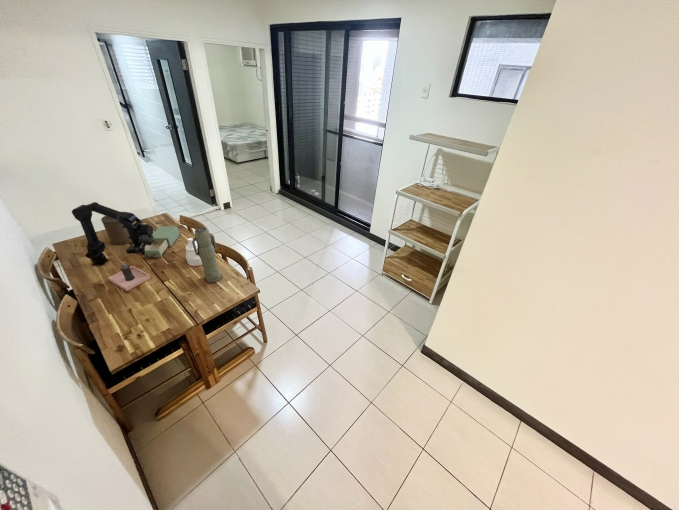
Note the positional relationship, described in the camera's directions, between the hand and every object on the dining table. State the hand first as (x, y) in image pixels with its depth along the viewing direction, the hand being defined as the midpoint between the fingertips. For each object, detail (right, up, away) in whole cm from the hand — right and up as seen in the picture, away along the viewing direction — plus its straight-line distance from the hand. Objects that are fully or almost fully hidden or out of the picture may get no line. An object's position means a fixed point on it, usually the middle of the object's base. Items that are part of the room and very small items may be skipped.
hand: (143, 254), depth 174 cm
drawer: (-2, +2, +15) cm, 15 cm away
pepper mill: (-2, -14, -9) cm, 17 cm away
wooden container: (-34, +11, +27) cm, 45 cm away
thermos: (+46, -15, -3) cm, 49 cm away
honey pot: (+29, -4, +11) cm, 31 cm away
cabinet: (-4, +11, +29) cm, 31 cm away
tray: (-2, -15, -9) cm, 17 cm away
